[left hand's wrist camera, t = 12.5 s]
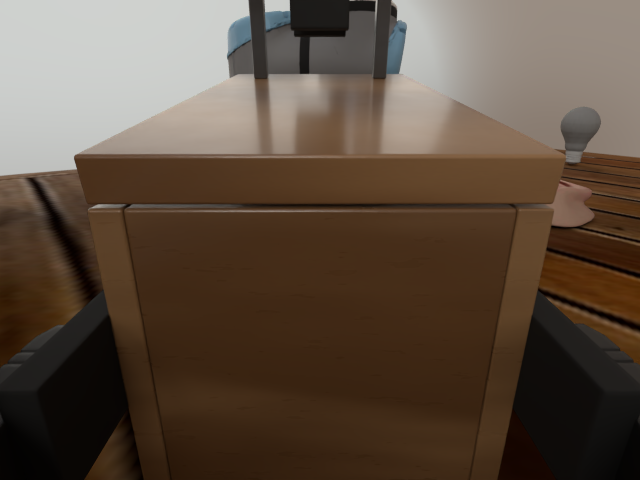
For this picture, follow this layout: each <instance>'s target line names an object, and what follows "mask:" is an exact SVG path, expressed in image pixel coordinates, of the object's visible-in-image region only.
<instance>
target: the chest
mask: <svg viewBox="0 0 640 480" xmlns="http://www.w3.org/2000/svg"><path fill="white" fill-rule="evenodd" d="M87 213H88V218H89V223H90V227H91V232H92V237H93V242H94V246H95V251H96V256H97V260H98V265H99V270H100V275H101V279H102V284H103V289H104V294H105V298H106V303H107V308H108V312H109V317H110V322H111V327H112V331H113V336H114V341H115V345H116V350H117V355H118V360H119V364H120V369H121V374H122V379H123V383H124V388H125V393H126V397H127V402H128V407H129V412H130V416H131V421H132V426H133V430H134V435H135V440H136V445H137V449H138V454H139V459H140V464H141V468H142V473H143V478H144V480H497V479H498V474H499V470H500V465H501V460H502V455H503V451H504V446H505V441H506V437H507V432H508V427H509V422H510V418H511V413H512V408H513V402H514V397H515V393H516V388H517V383H518V378H519V374H520V369H521V364H522V360H523V355H524V350H525V345H526V341H527V336H528V331H529V327H530V322H531V317H532V314H533V309H534V304H535V300H536V295H537V290H538V285H539V281H540V276H541V271H542V266H543V262H544V257H545V252H546V248H547V243H548V238H549V233H550V229H551V224H552V219H553V215H554V209H553V208H551V207H549V206H547V205H545V204H98V205H96V206H94V207H92V208H90V209H88V212H87Z"/></svg>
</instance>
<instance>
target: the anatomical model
mask: <svg viewBox="0 0 640 480" xmlns="http://www.w3.org/2000/svg"><path fill="white" fill-rule="evenodd" d="M591 195H592V191H591V190H590V189H588V188H586V187H582V186H579V185H576V184H572V183H569V182H566V181H563V180H560V182H559V186H558V189H557V193H556V196H555V199H554V202H553V203H552V204H545V205H547V206H549V207H551V208H553V209H554V215H553V219H552V224H551V226H559V227H577V226H581V225H583V224H585V223H587V222H589V221H591V220H592V219H593V218H594V213H593V212H592V211H591V210H590V209H589V208H587V207H586V206H585V205H584V201H586V200H587V199H588V198H590V197H591Z"/></svg>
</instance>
